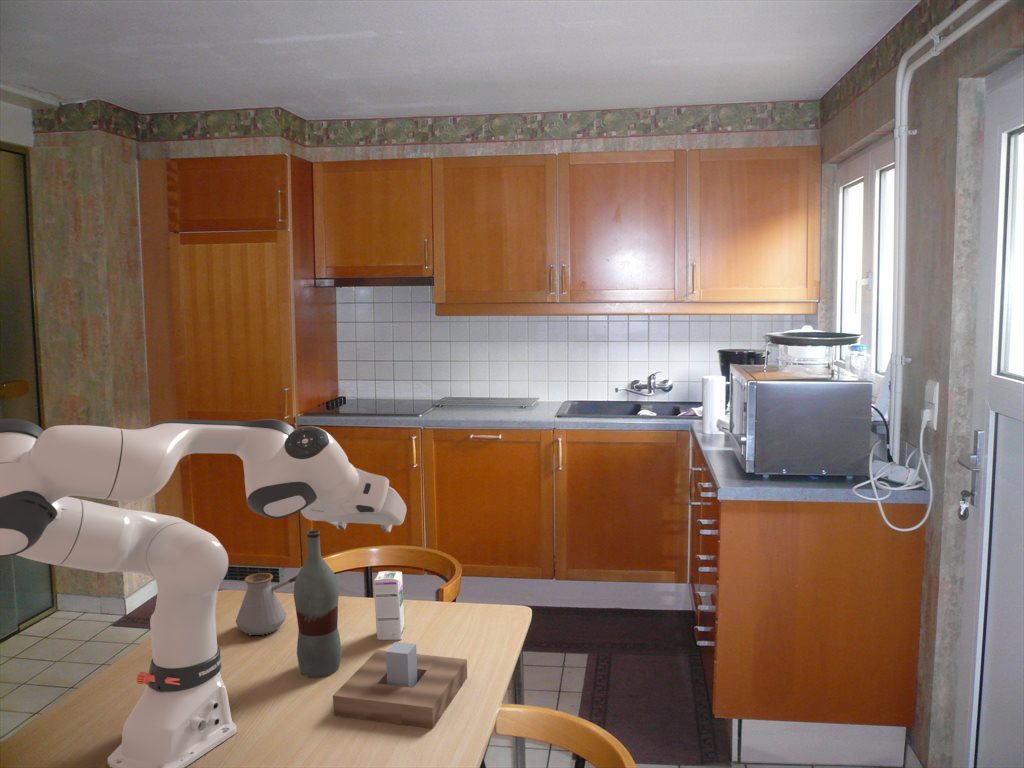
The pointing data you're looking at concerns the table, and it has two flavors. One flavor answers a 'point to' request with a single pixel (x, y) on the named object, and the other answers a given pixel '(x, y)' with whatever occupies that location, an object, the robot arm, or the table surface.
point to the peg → (402, 665)
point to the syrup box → (389, 605)
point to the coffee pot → (261, 606)
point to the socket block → (401, 691)
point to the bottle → (317, 613)
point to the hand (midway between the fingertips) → (365, 527)
